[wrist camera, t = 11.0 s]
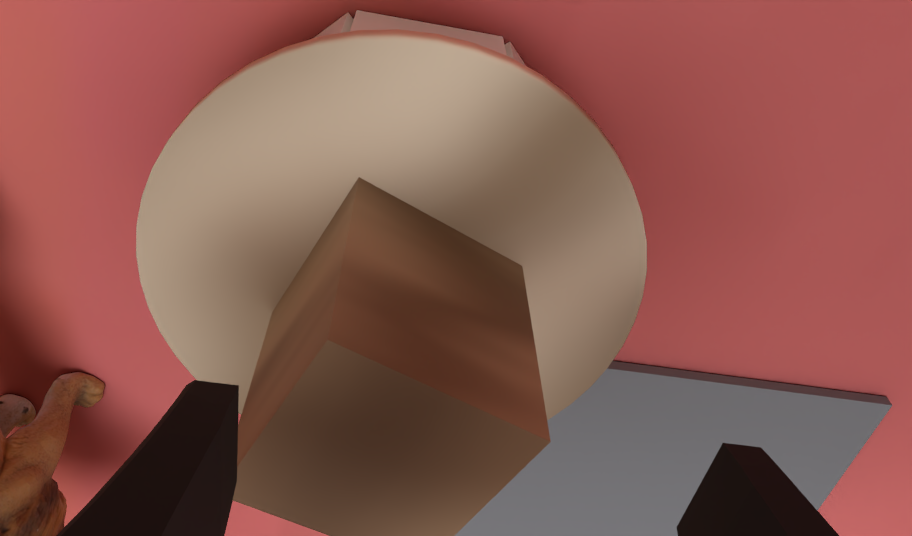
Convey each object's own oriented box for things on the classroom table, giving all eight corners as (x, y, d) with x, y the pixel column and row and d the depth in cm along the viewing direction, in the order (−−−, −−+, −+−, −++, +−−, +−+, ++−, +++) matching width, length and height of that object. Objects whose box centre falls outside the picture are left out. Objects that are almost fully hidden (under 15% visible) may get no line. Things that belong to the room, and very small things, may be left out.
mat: (886, 396, 25) (892, 405, 25) (725, 625, 33) (729, 634, 32) (475, 342, 23) (476, 351, 23) (409, 597, 31) (409, 606, 31)
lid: (746, 208, 16) (870, 391, 11) (465, 492, 21) (472, 697, 17) (279, -97, 13) (185, -10, 8) (77, 332, 18) (-50, 536, 13)
